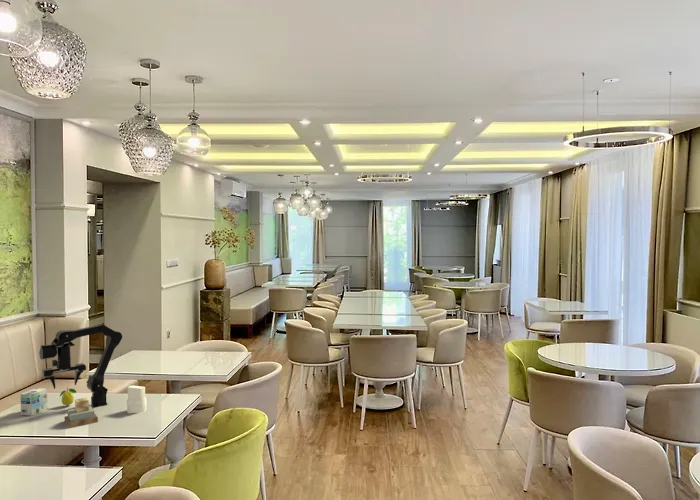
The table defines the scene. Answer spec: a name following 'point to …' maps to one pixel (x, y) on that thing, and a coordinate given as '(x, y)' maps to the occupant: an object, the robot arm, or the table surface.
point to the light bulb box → (34, 401)
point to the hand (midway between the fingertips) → (65, 386)
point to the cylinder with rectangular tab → (136, 399)
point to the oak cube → (81, 405)
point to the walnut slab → (80, 421)
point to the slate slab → (80, 414)
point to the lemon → (67, 396)
